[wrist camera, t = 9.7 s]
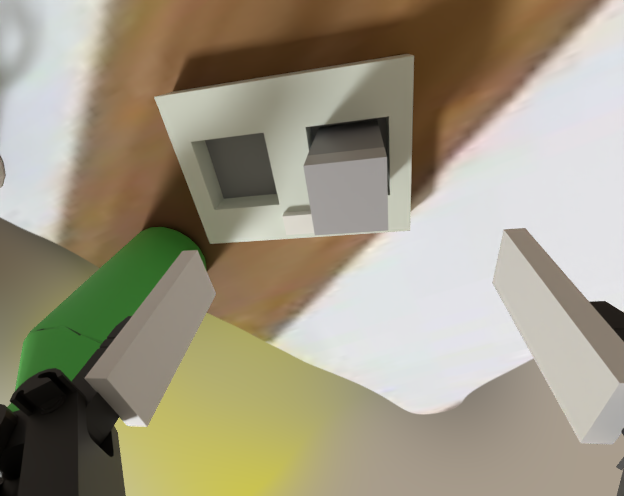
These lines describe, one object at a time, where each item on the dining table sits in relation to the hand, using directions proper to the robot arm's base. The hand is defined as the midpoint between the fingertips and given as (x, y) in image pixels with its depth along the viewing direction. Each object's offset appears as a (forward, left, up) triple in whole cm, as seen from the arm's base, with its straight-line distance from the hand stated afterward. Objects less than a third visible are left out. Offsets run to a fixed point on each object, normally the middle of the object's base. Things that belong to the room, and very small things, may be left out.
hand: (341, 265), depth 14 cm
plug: (0, 0, -17) cm, 17 cm away
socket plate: (0, -5, -18) cm, 18 cm away
